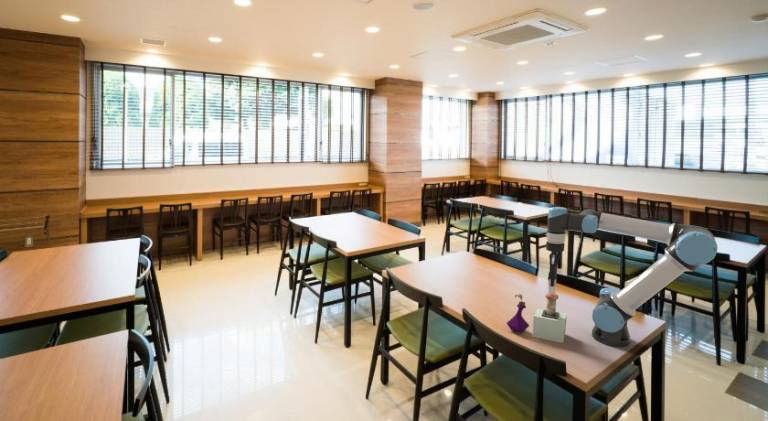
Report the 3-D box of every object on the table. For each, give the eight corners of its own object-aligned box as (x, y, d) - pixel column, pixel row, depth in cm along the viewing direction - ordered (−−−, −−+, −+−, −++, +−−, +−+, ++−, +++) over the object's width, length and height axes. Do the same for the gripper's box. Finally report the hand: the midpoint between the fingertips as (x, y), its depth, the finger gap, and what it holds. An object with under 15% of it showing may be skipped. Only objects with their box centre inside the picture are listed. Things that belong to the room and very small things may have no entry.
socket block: (565, 334, 186) (566, 312, 185) (563, 343, 178) (565, 320, 176) (535, 327, 193) (537, 307, 191) (532, 336, 184) (533, 314, 182)
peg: (557, 314, 185) (559, 294, 183) (556, 319, 180) (557, 298, 178) (544, 312, 187) (546, 292, 186) (543, 316, 183) (544, 295, 181)
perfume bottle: (529, 331, 189) (531, 295, 186) (518, 335, 185) (520, 298, 182) (516, 325, 195) (518, 290, 192) (505, 329, 191) (507, 293, 188)
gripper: (548, 237, 185) (544, 286, 189) (544, 244, 174) (541, 295, 178) (565, 239, 182) (562, 289, 186) (563, 246, 170) (559, 298, 174)
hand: (551, 292), depth 182 cm, fingers closed
